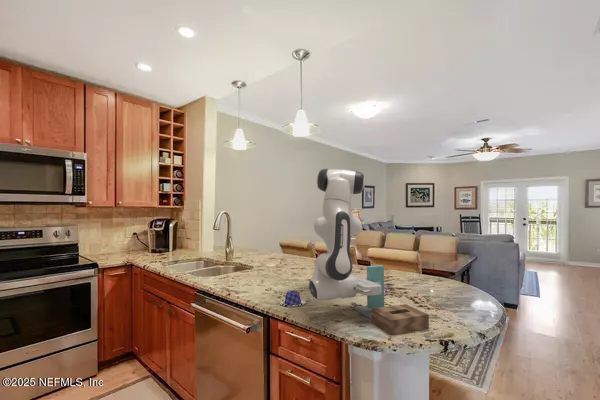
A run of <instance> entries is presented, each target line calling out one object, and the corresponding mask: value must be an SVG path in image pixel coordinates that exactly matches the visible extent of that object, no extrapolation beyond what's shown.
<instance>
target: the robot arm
mask: <svg viewBox="0 0 600 400" xmlns="http://www.w3.org/2000/svg"><path fill="white" fill-rule="evenodd" d="M365 185H366V179H365V175H364V173H362V172H360V171H357V170H356V171H355V170H354V171H353V170H350V169H340V168H339V169H337V168H336V169H331V168H330V169H329V168H323V169H320V170H319V172H318V174H317V176H316V186H317V189H319V191H322V192H324V197H323V203H322V216H321V217H317V218H316V219H315V221H314V223H313V230H314V232H315V234H316V235H317V236H319V237H320V238H321V239H322V240H323V242H324V243H325V246H326V250H327V251H326V252H323V253H320V254H318V256H317V257H316V259H315V261H314V271H313V274H312V276H311V278H310V279H309V282H308V288H309V292H310V294H311V295H312V297H313V298H314V299H315V300H318V301H331V300H336V299H338V298H339V299H346V298H355V297H356V296H357V294H360V295H363V296H366V297H367V296H370V295H380V294H381V282H379V281H375V282H372V281H369V280H367V278H364V277H362V276H359V275H357V274H353V273H352V271H353V260H352V256H351V237H354V236H358V235H360V234H361V232H362V230H363V229H362V227H363V225H362V221H361V219H360V218H359V217H357V216H356V215H355V214H354V213H353V212H352V196H353V195H359V194H361V193H362V192H363V190H364V188H365ZM352 194H353V195H352Z"/></svg>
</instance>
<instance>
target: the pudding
mask: <svg viewBox="0 0 600 400" xmlns="http://www.w3.org/2000/svg"><path fill="white" fill-rule="evenodd" d="M282 300H285V301H284V303H285V305H295V306H298V305H299V304H300V305H299V306H298V307H300V306H301V307H302V306H303V305H305V304H306V300H305V299H303V298H301V295H300V292H299V291H297V290H289V291H286V293H285V298H284V299H281V300H280V301H279V304H280V305H282V304H281V303H280V302H281V301H282ZM301 301H303V304H302V302H301ZM301 304H302V305H301ZM285 305H282V306H284V307H286V306H285ZM295 306H290V307H295Z"/></svg>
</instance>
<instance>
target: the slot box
mask: <svg viewBox="0 0 600 400" xmlns="http://www.w3.org/2000/svg"><path fill="white" fill-rule="evenodd" d="M429 320H430V317H429V314H428V313H426V312H425V311H422V310H420V309H418V308H417V307H416V308H415V307H413V306H412V305H409V304H406V303H403V304H397V305H390V306H386V307H382V308H375V309H372V320H371V323H372V324H374V326H377V327H379V328H380V329H381V330H383V331H384V332H386V333H388V334H389V335H391V336H396V335H401V334H405V333H406V334H407V333H412V332H417V331H422V330H427V329H430V321H429Z"/></svg>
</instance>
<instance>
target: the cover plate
mask: <svg viewBox="0 0 600 400" xmlns="http://www.w3.org/2000/svg"><path fill="white" fill-rule="evenodd" d="M384 266H385V265H382V264H380V265H367V266H366V279H367V280H369V281H372V282H375V281H379V282H381V294H380V295H370V296H367V295H366V302H367V303H366V306H367V307H368V308H369V309H372V308H379V307H384V306H385V267H384Z"/></svg>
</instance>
